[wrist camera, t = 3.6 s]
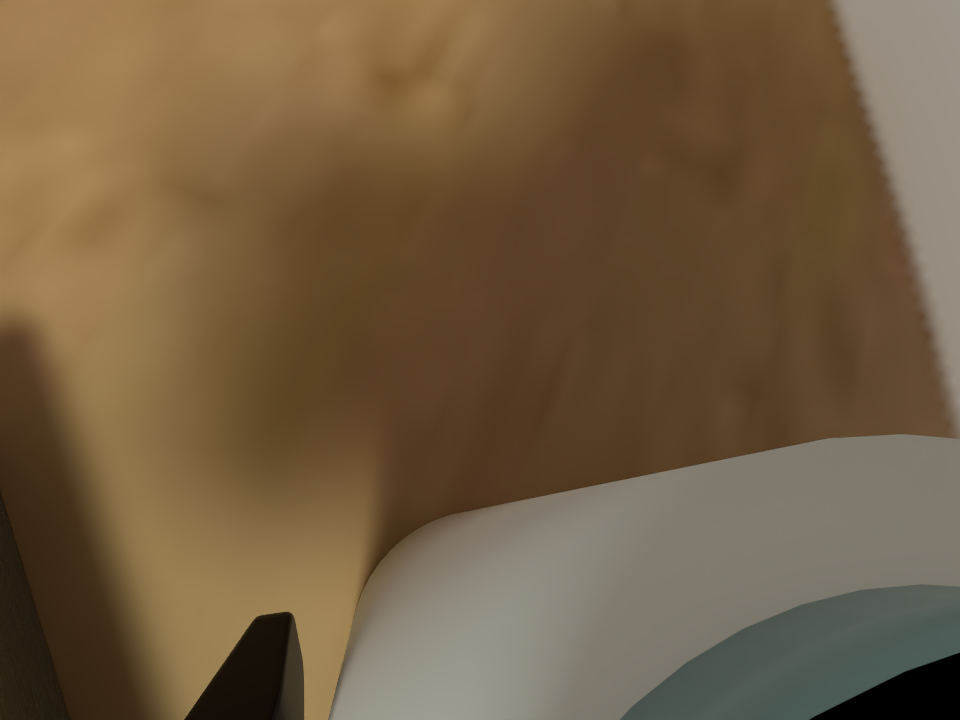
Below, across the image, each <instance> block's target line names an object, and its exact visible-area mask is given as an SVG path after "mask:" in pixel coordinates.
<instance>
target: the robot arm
mask: <svg viewBox="0 0 960 720" xmlns="http://www.w3.org/2000/svg"><path fill="white" fill-rule="evenodd" d="M184 720H304V671H303V661H302V654H301V649H300V644H299V639H298V634H297V629H296V624H295V619H294V616H293V615H292V613H290V612H281V613H274V614H267V615H261V616H258V617H256V618H255V619H254V620H253V621H252V623H251V624H250V626H249V627H248V629H247V630H246V631H245V633H244V634H243V636H242V637H241V639H240V640H239V642H238V643H237V644H236V646H235V647H234V649H233V650H232V652H231V653H230V655H229V656H228V657H227V659H226V660H225V662H224V663H223V665H222V666H221V668H220V669H219V670H218V672H217V673H216V675H215V676H214V678H213V679H212V680H211V682H210V683H209V685H208V686H207V688H206V689H205V691H204V692H203V693H202V695H201V696H200V698H199V699H198V701H197V702H196V704H195V705H194V706H193V708H192V709H191V711H190V712H189V714H188V715H187V717H186V718H185V719H184Z"/></svg>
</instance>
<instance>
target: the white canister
mask: <svg viewBox="0 0 960 720" xmlns="http://www.w3.org/2000/svg"><path fill="white" fill-rule="evenodd" d="M328 720H960V439H955V438H943V437H931V436H919V435H908V434H896V435H879V436H861V437H844V438H827V439H822V440H817V441H812V442H807V443H803V444H798V445H793V446H788V447H783V448H778V449H773V450H768V451H763V452H758V453H753V454H748V455H743V456H738V457H733V458H728V459H723V460H719V461H714V462H709V463H704V464H699V465H694V466H689V467H684V468H679V469H674V470H669V471H664V472H659V473H654V474H649V475H644V476H640V477H635V478H630V479H625V480H620V481H615V482H610V483H605V484H600V485H595V486H590V487H585V488H580V489H575V490H570V491H565V492H560V493H556V494H551V495H546V496H541V497H536V498H531V499H526V500H521V501H516V502H511V503H506V504H501V505H496V506H491V507H486V508H481V509H477V510H472V511H467V512H462V513H457V514H452V515H448V516H445V517H442V518H439V519H436V520H433V521H431V522H429V523H427V524H425V525H423V526H421V527H419V528H418V529H416V530H415V531H413V532H412V533H410V534H409V535H407V536H406V537H404V538H403V539H402V540H401V541H400V542H399V543H397V544H396V545H395V546H394V547H393V548H392V549H391V550H390V551H389V552H388V553H387V554H386V556H385V557H384V558H383V559H382V560H381V561H380V562H379V564H378V565H377V567H376V568H375V570H374V571H373V573H372V574H371V576H370V577H369V579H368V581H367V583H366V585H365V587H364V589H363V591H362V593H361V596H360V599H359V602H358V605H357V607H356V610H355V614H354V618H353V622H352V626H351V630H350V634H349V638H348V643H347V647H346V651H345V655H344V659H343V663H342V667H341V671H340V675H339V679H338V683H337V687H336V691H335V695H334V699H333V703H332V707H331V711H330V715H329V719H328Z"/></svg>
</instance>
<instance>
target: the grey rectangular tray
mask: <svg viewBox="0 0 960 720" xmlns="http://www.w3.org/2000/svg"><path fill="white" fill-rule="evenodd" d="M0 720H69V717H68V714H67V711H66V708H65V704H64V701H63V698H62V694H61V691H60V688H59V685H58V681H57V678H56V675H55V672H54V668H53V665H52V662H51V658H50V655H49V652H48V649H47V645H46V642H45V639H44V635H43V632H42V629H41V626H40V622H39V619H38V616H37V612H36V609H35V606H34V603H33V599H32V596H31V593H30V589H29V586H28V583H27V580H26V576H25V573H24V570H23V566H22V563H21V560H20V557H19V553H18V550H17V547H16V543H15V540H14V537H13V534H12V530H11V527H10V524H9V520H8V517H7V514H6V511H5V507H4V504H3V501H2V497H1V494H0Z"/></svg>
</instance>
